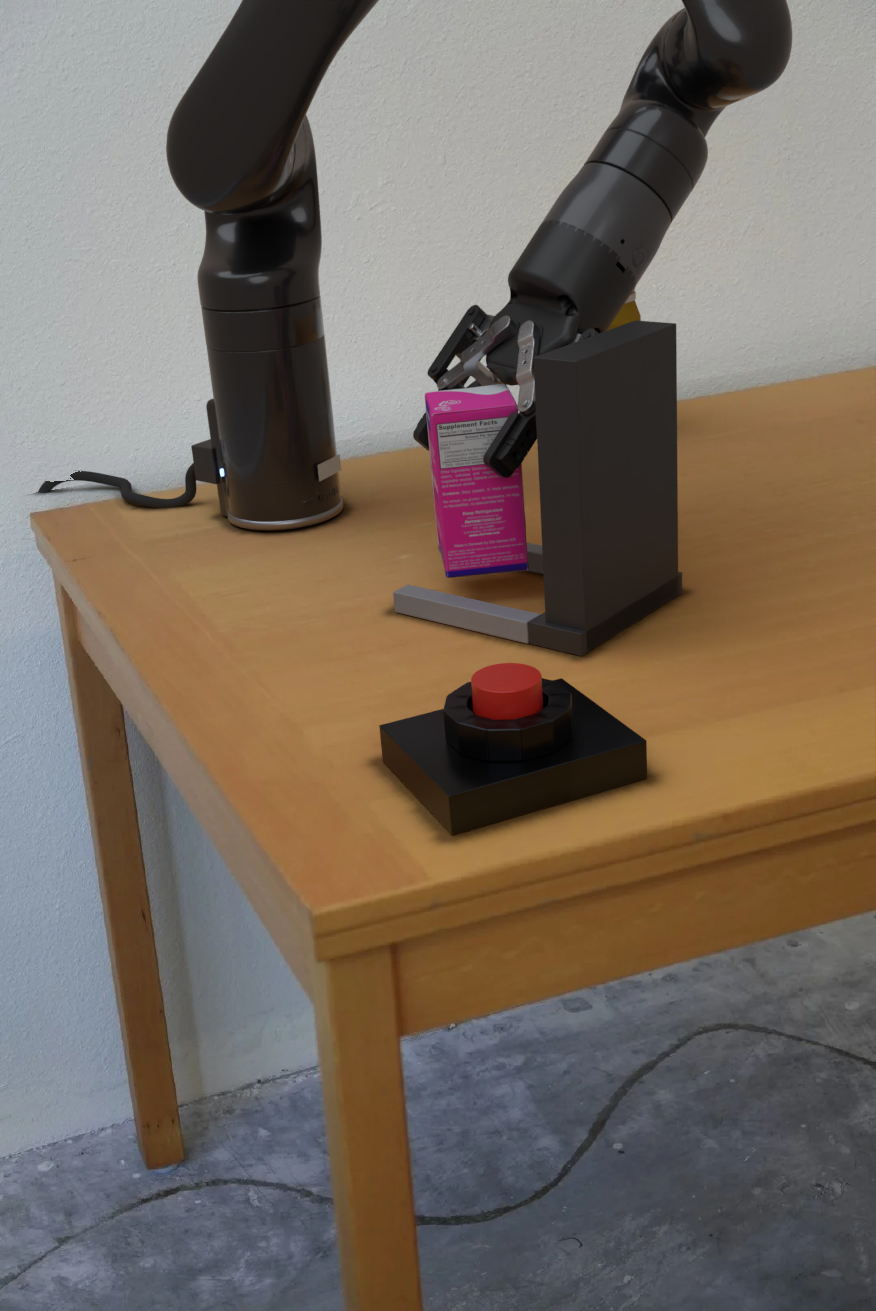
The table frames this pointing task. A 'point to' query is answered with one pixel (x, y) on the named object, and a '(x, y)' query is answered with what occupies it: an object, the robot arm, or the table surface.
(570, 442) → the upright panel stand
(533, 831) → the table surface
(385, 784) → the table surface
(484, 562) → the supplement box
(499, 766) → the control block
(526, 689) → the red button
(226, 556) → the table surface
